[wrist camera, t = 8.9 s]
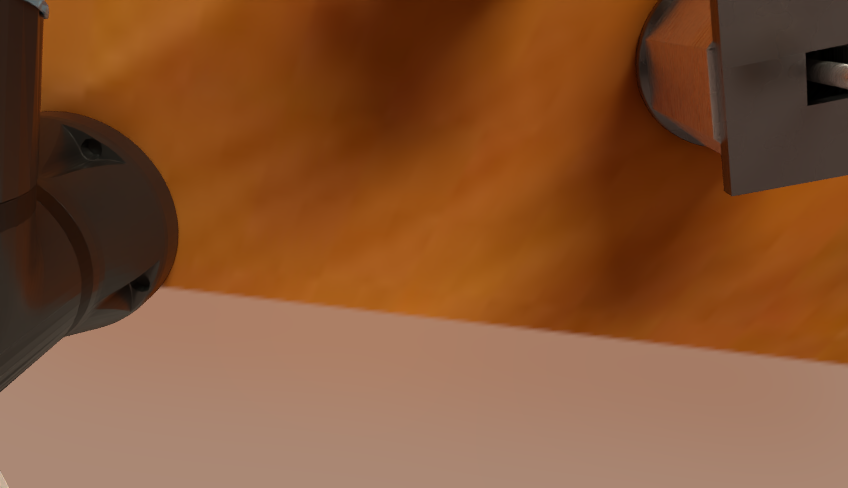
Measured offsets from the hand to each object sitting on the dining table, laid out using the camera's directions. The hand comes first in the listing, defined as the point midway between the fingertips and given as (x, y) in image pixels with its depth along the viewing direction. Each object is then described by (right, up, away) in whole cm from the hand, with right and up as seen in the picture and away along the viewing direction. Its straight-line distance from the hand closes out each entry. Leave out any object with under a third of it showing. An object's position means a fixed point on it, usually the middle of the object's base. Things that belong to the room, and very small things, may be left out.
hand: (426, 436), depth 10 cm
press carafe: (+19, +16, +33) cm, 41 cm away
